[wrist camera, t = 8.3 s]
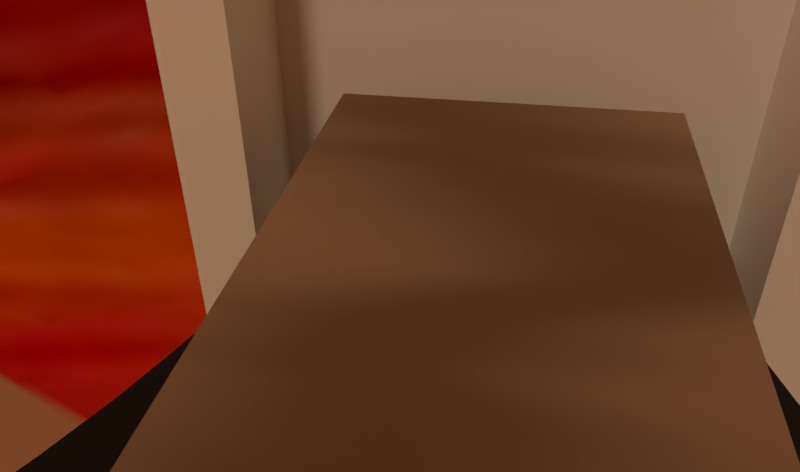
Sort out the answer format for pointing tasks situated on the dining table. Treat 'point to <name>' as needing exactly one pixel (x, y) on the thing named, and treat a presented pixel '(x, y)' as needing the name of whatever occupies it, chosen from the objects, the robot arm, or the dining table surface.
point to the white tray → (492, 82)
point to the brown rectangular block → (478, 308)
